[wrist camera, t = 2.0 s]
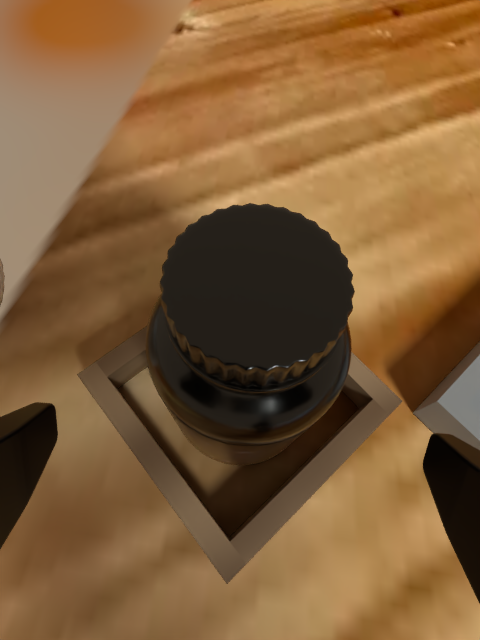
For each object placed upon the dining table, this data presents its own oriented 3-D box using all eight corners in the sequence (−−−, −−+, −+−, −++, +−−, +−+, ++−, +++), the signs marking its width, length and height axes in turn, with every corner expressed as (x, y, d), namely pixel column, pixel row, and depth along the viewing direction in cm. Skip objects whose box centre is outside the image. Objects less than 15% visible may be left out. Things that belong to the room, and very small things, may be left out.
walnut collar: (386, 410, 20) (402, 401, 18) (226, 575, 17) (227, 584, 15) (247, 273, 23) (250, 254, 22) (89, 386, 20) (77, 374, 18)
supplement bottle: (205, 321, 22) (192, 142, 11) (319, 364, 21) (424, 217, 10) (149, 436, 19) (58, 344, 8) (278, 491, 18) (367, 471, 7)
